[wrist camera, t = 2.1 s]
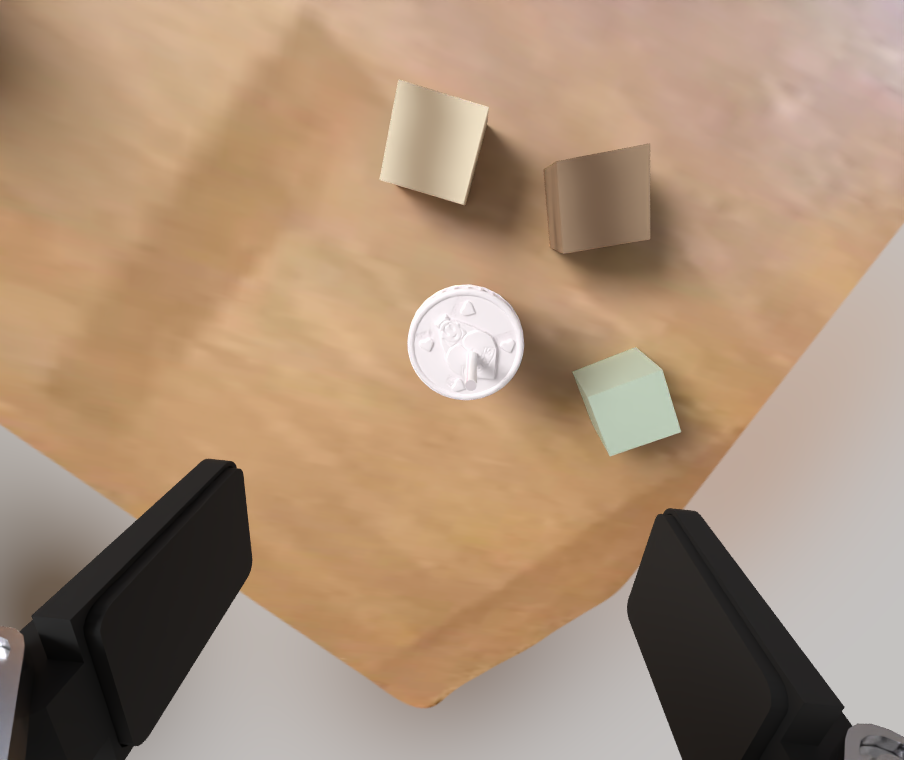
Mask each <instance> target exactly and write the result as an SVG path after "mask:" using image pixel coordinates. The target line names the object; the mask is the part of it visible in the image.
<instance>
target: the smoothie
mask: <svg viewBox="0 0 904 760" xmlns="http://www.w3.org/2000/svg"><path fill="white" fill-rule="evenodd" d="M523 352H524V338H523V330H522V327H521V323H520V320H519V317H518V316H517V314H516V312H515V311H514V309H513V308H512V306H511V305H510V304H509V303H508V302H507V301H506V300H505V299H504V298H502V297H501V296H500V295H499V294H497V293H495V292H493V291H491V290H489V289H487V288H485V287H480V286H477V285H472V284H465V285H455V286H451V287H448V288H446V289H443V290H440V291H438V292H437V293H435V294H434V295H432V296H431V297H429V298H428V299H426V301H425V302H424V303H423V304H422V305H421V307H420V308H419V309H418V310H417V311H416V314H415V316H414V318H413V320H412V323H411V325H410V330H409V335H408V353H409V358H410V361H411V364H412V366H413V368H414V370H415V372H416V374H417V375H418V376H419V378H420V379H421V380H422V381H423V382H424V383H425V384H426V385H427V386H428V387H429V388H431V389H432V390H434V391H435V392H437V393H439V394H441V395H443V396H446V397H449V398H453V399H458V400H474V399H480V398H484V397H486V396H489V395H491V394H493V393H495V392H497V391H499V390H500V389H501V388H503V387H504V386H505V385H506V384H507V383H508V382H509V381H510V380H511V379H512V378H513V376H514V375H515V373H516V372H517V370H518V368H519V366H520V363H521V361H522V357H523Z"/></svg>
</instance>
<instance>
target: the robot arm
mask: <svg viewBox="0 0 904 760" xmlns="http://www.w3.org/2000/svg"><path fill="white" fill-rule="evenodd" d="M251 567H252V552H251V542H250V533H249V523H248V514H247V505H246V495H245V486H244V476H243V472H242V470H241V469H238V468H237V467H236V465H235V463H234V462H232V461H225V460H215V459H205V460H203V461H202V462H200V463H199V464H198V465H197V466H196V467H195V468H194V469H193V470H192V471H190V472H189V473H188V474H187V475H186V476H185V477H184V478H183V479H182V480H180V481H179V482H178V483H177V484H176V485H175V486H174V487H173V488H172V489H171V490H169V491H168V492H167V493H166V494H165V495H164V496H163V497H162V498H161V499H160V500H158V501H157V502H156V503H155V504H154V505H153V506H152V507H151V508H150V509H149V510H147V511H146V512H145V513H144V514H143V515H142V516H141V517H140V518H139V519H137V520H136V521H135V522H134V523H133V524H132V525H131V526H130V527H129V528H128V529H126V530H125V531H124V532H123V533H122V534H121V535H120V536H119V537H118V538H117V539H115V540H114V541H113V542H112V543H111V544H110V545H109V546H108V547H107V548H105V549H104V550H103V551H102V552H101V553H100V554H99V555H98V556H97V557H96V558H94V559H93V560H92V561H91V562H90V563H89V564H88V565H87V566H86V567H85V568H84V569H83V570H81V571H80V572H79V573H78V574H77V575H76V576H75V577H74V578H73V579H71V580H70V581H69V582H68V583H67V584H66V585H65V586H64V587H62V588H61V589H60V590H59V591H58V592H57V593H56V594H55V595H54V596H53V597H51V598H50V599H49V600H48V601H47V602H46V603H45V604H44V605H43V606H42V607H41V608H39V609H38V610H37V611H36V612H35V613H34V614H33V615H32V619H33V620H32V621H31V622H30V623H28V624H27V625H26V626H25V627H24V628H23V629H22V630H21V631H20V632H19V631H18V630H17V629H14V628H9V627H5V626H0V760H125V759H126V757H127V756H128V754H129V753H130V751H131V749H132V748H133V746H139V745H140V744H142V743H143V742H144V741H145V740H146V739H147V737H148V736H149V735H150V733H151V732H152V730H153V728H154V727H155V725H156V723H157V722H158V720H159V719H160V717H161V715H162V714H163V712H164V711H165V709H166V707H167V706H168V704H169V703H170V701H171V700H172V698H173V696H174V695H175V693H176V691H177V690H178V688H179V687H180V685H181V683H182V682H183V680H184V679H185V677H186V675H187V674H188V672H189V671H190V669H191V667H192V666H193V664H194V663H195V661H196V659H197V658H198V656H199V655H200V653H201V651H202V649H203V648H204V647H205V645H206V643H207V642H208V640H209V639H210V637H211V635H212V634H213V632H214V631H215V629H216V627H217V626H218V624H219V623H220V621H221V619H222V618H223V616H224V615H225V613H226V611H227V609H228V608H229V607H230V605H231V603H232V602H233V600H234V599H235V597H236V595H237V594H238V592H239V590H240V589H241V587H242V586H243V584H244V582H245V581H246V579H247V578H248V576H249V573H250V571H251ZM627 613H628V617H629V621H630V624H631V626H632V629H633V631H634V634H635V637H636V639H637V642H638V645H639V647H640V650H641V653H642V655H643V658H644V660H645V663H646V666H647V668H648V671H649V674H650V676H651V678H652V681H653V684H654V686H655V689H656V692H657V694H658V697H659V700H660V702H661V705H662V708H663V710H664V713H665V716H666V718H667V721H668V723H669V726H670V729H671V731H672V734H673V736H674V739H675V741H676V744H677V747H678V750H679V752H680V755H681V757H682V760H904V737H903V736H901V735H899V734H897V733H895V732H893V731H891V730H889V729H886V728H883V727H880V726H877V725H873V724H856V725H854V726H852V725H851V723H850V722H849V721H848V719H847V718H846V717H845V715H844V714H843V713H842V710H843V709H844V706H843V704H842V703H841V702H840V700H839V699H838V698H837V696H836V695H835V694H834V692H833V691H832V690H831V689H830V687H829V686H828V684H827V683H826V682H825V680H824V679H823V678H822V676H821V675H820V674H819V672H818V671H817V670H816V669H815V667H814V666H813V664H812V663H811V662H810V660H809V659H808V658H807V656H806V655H805V654H804V652H803V651H802V650H801V648H800V647H799V646H798V645H797V643H796V642H795V640H794V639H793V638H792V636H791V635H790V634H789V632H788V631H787V630H786V628H785V627H784V626H783V624H782V623H781V622H780V620H779V619H778V618H777V617H776V615H775V614H774V612H773V611H772V610H771V608H770V607H769V606H768V605H767V603H766V602H765V600H764V599H763V598H762V596H761V595H760V594H759V593H758V591H757V590H756V588H755V587H754V586H753V584H752V583H751V582H750V581H749V579H748V578H747V577H746V575H745V574H744V573H743V571H742V570H741V568H740V567H739V566H738V564H737V563H736V562H735V561H734V559H733V558H732V557H731V555H730V554H729V553H728V551H727V550H726V549H725V547H724V546H723V545H722V543H721V542H720V541H719V539H718V538H717V537H716V535H715V534H714V533H713V531H712V530H711V529H710V527H709V526H708V525H707V523H706V522H705V521H704V519H703V518H702V517H701V515H700V514H698V512H696V511H691V510H681V509H672V508H669V509H666V510H665V511H664V513H663V514H658V515H657V517H656V519H655V521H654V524H653V527H652V530H651V533H650V536H649V539H648V542H647V545H646V548H645V551H644V554H643V557H642V560H641V563H640V566H639V569H638V572H637V575H636V579H635V581H634V584H633V587H632V590H631V593H630V596H629V599H628V604H627Z"/></svg>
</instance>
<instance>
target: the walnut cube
mask: <svg viewBox="0 0 904 760" xmlns="http://www.w3.org/2000/svg"><path fill="white" fill-rule="evenodd" d="M544 180H545V192H546V204H547V216H548V228H549V240H550V248H552V249H554V250H556V251H558V252H560V253H562V254H566V253H572V252H578V251H584V250H590V249H596V248H602V247H608V246H614V245H619V244H625V243H631V242H637V241H643V240H649V239H650V144H644V145H639V146H634V147H629V148H624V149H618V150H613V151H608V152H603V153H598V154H592V155H587V156H582V157H577V158H572V159H566V160H561V161H556V162H555V163H553V164H552V165H550V166H549V167H547V168H545V169H544Z"/></svg>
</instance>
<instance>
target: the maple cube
mask: <svg viewBox="0 0 904 760" xmlns="http://www.w3.org/2000/svg"><path fill="white" fill-rule="evenodd" d="M488 110H489V107H487V106H483V105H480V104H477V103H474V102H470V101H467V100H464V99H461V98H457V97H454V96H451V95H448V94H445V93H441V92H438V91H435V90H432V89H428V88H425V87H422V86H419V85H415V84H412V83H409V82H406V81H402V80H399V79H398V84H397V90H396V95H395V100H394V106H393V111H392V116H391V122H390V127H389V132H388V138H387V143H386V148H385V154H384V159H383V164H382V170H381V175H380V180H382V181H385V182H388V183H391V184H394V185H398V186H401V187H404V188H408V189H411V190H414V191H418V192H421V193H425V194H428V195H431V196H435V197H438V198H441V199H445V200H448V201H452V202H455V203H458V204H462V205H465V206H466V202H467V199H468V195H469V191H470V187H471V183H472V180H473V176H474V172H475V168H476V165H477V161H478V157H479V153H480V149H481V146H482V142H483V138H484V134H485V130H486V127H487V120H488Z"/></svg>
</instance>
